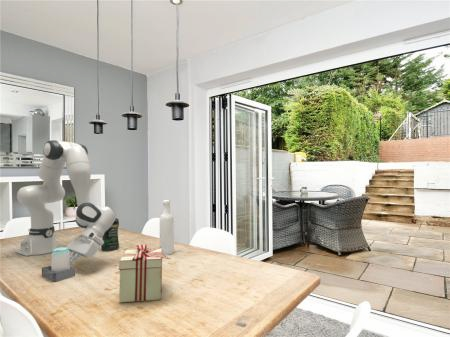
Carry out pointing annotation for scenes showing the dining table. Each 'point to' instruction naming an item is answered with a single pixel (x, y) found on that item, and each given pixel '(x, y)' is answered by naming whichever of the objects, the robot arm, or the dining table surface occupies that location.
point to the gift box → (141, 274)
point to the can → (60, 259)
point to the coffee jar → (111, 237)
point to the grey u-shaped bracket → (57, 274)
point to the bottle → (167, 230)
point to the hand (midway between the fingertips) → (70, 262)
